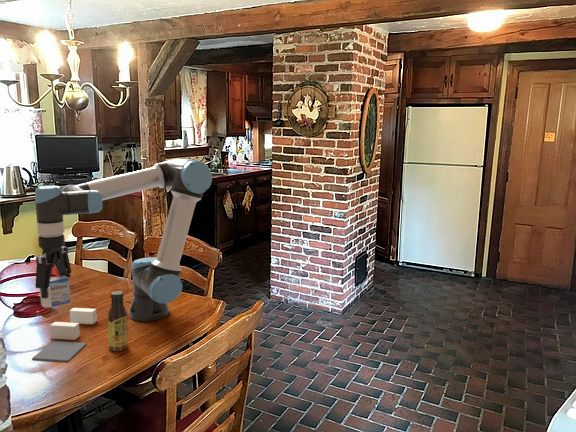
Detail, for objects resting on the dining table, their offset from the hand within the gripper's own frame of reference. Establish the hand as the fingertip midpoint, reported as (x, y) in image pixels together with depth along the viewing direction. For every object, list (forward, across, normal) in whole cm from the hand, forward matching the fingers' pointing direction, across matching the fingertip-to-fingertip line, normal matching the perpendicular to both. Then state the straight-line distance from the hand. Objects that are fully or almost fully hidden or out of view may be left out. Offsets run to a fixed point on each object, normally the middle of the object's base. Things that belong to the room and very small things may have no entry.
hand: (55, 301), depth 155 cm
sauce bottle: (+18, -5, +18) cm, 26 cm away
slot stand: (+18, -16, -4) cm, 24 cm away
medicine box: (+1, 0, 0) cm, 1 cm away
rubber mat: (+18, 0, +1) cm, 18 cm away
